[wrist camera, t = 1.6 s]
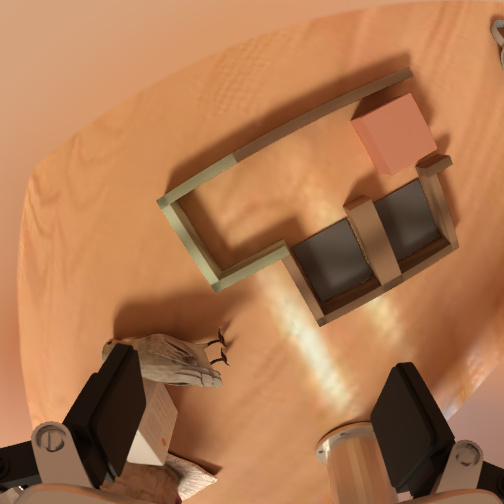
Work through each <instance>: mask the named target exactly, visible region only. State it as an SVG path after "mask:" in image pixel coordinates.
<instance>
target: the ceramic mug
mask: <svg viewBox="0 0 504 504" xmlns="http://www.w3.org/2000/svg"><path fill="white" fill-rule="evenodd" d="M497 28H504V20H496V21H494V22H493V24H492V27H491V33H492V35H493V37H494V39H495V40H496V41H497V42H498V44H499V45H500V46H501V47H502V48H503V49H502V51H501V63H502V66H503V69H504V38H503V36H502V35H501V34H500V33H499V31H498V29H497Z"/></svg>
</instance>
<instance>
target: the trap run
mask: <svg viewBox="0 0 504 504" xmlns="http://www.w3.org/2000/svg"><path fill="white" fill-rule="evenodd" d="M412 76H413V74H412V72H411V71H410V69H409V67H408V68H405V69H403V70H400V71H398V72H395V73H393V74H390V75H388V76H385V77H383V78H381V79H378V80H376V81H373V82H371V83H369V84H367V85H364V86H362V87H360V88H357V89H355V90H353V91H351V92H349V93H346V94H344V95H342V96H340V97H338V98H336V99H333V100H331V101H329V102H327V103H325V104H323V105H321V106H319V107H317V108H315V109H313V110H311V111H309V112H307V113H305V114H303V115H301V116H299V117H297V118H295V119H293V120H291V121H289V122H287V123H285V124H283V125H282V126H280V127H278V128H276V129H274V130H272V131H270V132H269V133H267V134H265V135H263V136H261V137H259V138H258V139H256V140H254V141H252V142H250V143H249V144H247V145H245V146H243V147H242V148H240V149H238V150H236V151H235V152H233V153H231V154H230V155H228V156H226V157H225V158H223V159H221V160H220V161H218V162H216V163H215V164H213V165H211V166H210V167H208V168H206V169H205V170H203V171H201V172H200V173H198V174H197V175H195V176H193V177H192V178H190V179H189V180H187V181H186V182H184V183H182V184H181V185H179V186H178V187H176V188H175V189H173V190H172V191H170V192H169V193H167V194H166V195H164V196H163V197H161V198H160V199H158V200H157V201H156V202H157V203H158V205H159V206H160V208H161V210H162V211H163V213H164V214H165V216H166V218H167V219H168V221H169V222H170V224H171V226H172V227H173V229H174V230H175V232H176V233H177V235H178V237H179V238H180V240H181V241H182V243H183V244H184V246H185V247H186V249H187V250H188V252H189V254H190V255H191V257H192V258H193V260H194V261H195V263H196V264H197V266H198V267H199V269H200V270H201V272H202V273H203V275H204V276H205V278H206V279H207V281H208V282H209V284H210V285H211V287H212V288H213V290H214V291H215V293H217V292H219V291H221V290H223V289H225V288H227V287H229V286H230V285H232V284H234V283H236V282H238V281H240V280H242V279H244V278H246V277H248V276H250V275H252V274H253V273H255V272H257V271H259V270H261V269H263V268H265V267H267V266H269V265H271V264H272V263H274V262H276V261H278V260H280V259H281V260H282V261H283V263H284V265H285V267H286V268H287V270H288V272H289V274H290V275H291V277H292V279H293V281H294V282H295V284H296V286H297V288H298V289H299V291H300V293H301V295H302V296H303V298H304V300H305V302H306V303H307V305H308V307H309V309H310V311H311V312H312V314H313V316H314V318H315V319H316V321H317V323H318V325H319V327H321V326H323V325H325V324H327V323H329V322H331V321H333V320H335V319H337V318H339V317H341V316H343V315H345V314H346V313H348V312H350V311H352V310H354V309H356V308H358V307H360V306H362V305H363V304H365V303H367V302H369V301H371V300H373V299H374V298H376V297H378V296H380V295H382V294H383V293H385V292H387V291H389V290H390V289H392V288H394V287H396V286H397V285H399V284H401V283H403V282H404V281H406V280H408V279H409V278H411V277H413V276H414V275H416V274H418V273H419V272H421V271H423V270H424V269H426V268H427V267H429V266H431V265H432V264H434V263H435V262H437V261H439V260H440V259H442V258H443V257H445V256H446V255H448V254H450V253H451V252H453V251H454V250H456V249H457V248H459V244H458V240H457V236H456V232H455V229H454V225H453V222H452V218H451V215H450V212H449V209H448V205H447V202H446V199H445V196H444V193H443V190H442V187H441V185H440V182H439V179H438V176H437V173H439V172H440V171H442V170H444V169H446V168H447V167H449V166H451V165H453V163H452V160H451V158H450V156H449V155H436V156H434V157H432V158H431V159H429V160H427V161H425V162H423V163H421V164H420V165H418V166H416V167H415V168H416V170H417V173H418V175H419V178H420V180H421V183H422V185H423V188H424V191H425V193H426V196H427V199H428V202H429V204H430V207H431V210H432V213H433V216H434V219H435V222H436V225H437V228H438V232H439V235H440V238H439V239H437V240H435V241H434V242H432V243H431V244H429V245H427V246H426V247H424V248H422V249H421V250H419V251H417V252H416V253H414V254H412V255H411V256H409V257H407V258H406V259H404V260H402V261H401V262H399V263H397V262H398V261H399V260H401V259H403V258H405V257H406V256H408V255H410V254H411V253H413V252H415V251H416V250H418V249H420V248H421V247H423V246H425V245H426V244H428V243H430V242H431V241H433V240H434V239H436V238H438V233H437V230H436V227H435V224H434V221H433V218H432V215H431V212H430V209H429V206H428V203H427V201H426V198H425V195H424V192H423V190H422V187H421V184H420V182H419V179H416V180H414V181H413V182H411V183H409V184H407V185H405V186H404V187H402V188H400V189H398V190H396V191H395V192H393V193H391V194H389V195H387V196H386V197H384V198H382V199H380V200H378V201H377V202H375V203H373V202H372V200H371V199H370V198H368V197H366V196H364V195H363V196H361V197H359V198H357V199H355V200H353V201H352V202H350V203H348V204H346V205H344V206H343V208H344V210H345V212H346V214H347V216H348V218H349V220H350V222H351V224H352V227H353V229H354V231H355V233H356V235H357V237H358V240H359V242H360V244H361V246H362V248H363V251H364V253H365V255H366V258H367V260H368V262H369V264H370V267H371V269H372V271H373V274H374V277H372V278H371V279H369V280H367V281H365V282H363V283H362V284H360V285H358V286H356V287H354V288H352V289H350V290H349V291H347V292H345V293H343V294H341V295H339V296H337V297H335V298H333V299H332V300H330V301H328V302H326V303H324V304H322V305H320V303H319V301H318V300H317V298H316V296H315V294H314V292H313V290H312V289H311V287H310V285H309V283H308V281H307V279H306V278H305V276H304V274H303V272H302V270H301V269H300V267H299V265H298V263H297V261H296V260H295V258H294V256H293V254H292V252H291V251H290V249H289V247H288V245H287V244H286V242H285V240H284V238H283V239H281V240H279V241H278V242H276V243H274V244H272V245H270V246H268V247H266V248H265V249H263V250H261V251H259V252H257V253H255V254H253V255H252V256H250V257H248V258H246V259H244V260H242V261H240V262H239V263H237V264H235V265H233V266H231V267H229V268H227V269H226V270H224V271H221V270H220V268H219V267H218V265H217V263H216V262H215V260H214V259H213V257H212V256H211V254H210V253H209V251H208V249H207V248H206V246H205V245H204V243H203V242H202V240H201V238H200V237H199V235H198V234H197V232H196V231H195V229H194V227H193V226H192V224H191V223H190V221H189V219H188V218H187V216H186V215H185V213H184V211H183V210H182V208H181V207H180V205H179V203H178V202H177V199H179V198H180V197H182V196H184V195H185V194H187V193H188V192H190V191H191V190H193V189H195V188H196V187H198V186H199V185H201V184H203V183H204V182H206V181H208V180H209V179H211V178H213V177H214V176H216V175H218V174H219V173H221V172H223V171H224V170H226V169H228V168H229V167H231V166H233V165H234V164H236V163H238V162H240V161H241V160H243V159H245V158H247V157H248V156H250V155H252V154H254V153H255V152H257V151H259V150H261V149H263V148H264V147H266V146H268V145H270V144H272V143H274V142H275V141H277V140H279V139H281V138H283V137H285V136H287V135H288V134H290V133H292V132H294V131H296V130H298V129H300V128H302V127H304V126H306V125H308V124H310V123H312V122H314V121H316V120H318V119H320V118H322V117H324V116H326V115H328V114H330V113H332V112H334V111H336V110H338V109H340V108H342V107H344V106H346V105H348V104H351V103H353V102H355V101H357V100H359V99H361V98H364V97H366V96H368V95H370V94H372V93H375V92H377V91H379V90H381V89H384V88H386V87H388V86H391V85H393V84H395V83H398V82H400V81H403V80H405V79H407V78H410V77H412ZM292 249H293V250H294V252H295V254H296V256H297V258H298V259H299V261H300V263H301V265H302V267H303V268H304V270H305V272H306V274H307V276H308V278H309V279H310V281H311V283H312V285H313V287H314V289H315V291H316V292H317V294H318V296H319V298H320V300H321V302H322V303H323V302H325V301H327V300H328V299H330V298H332V297H334V296H336V295H338V294H340V293H342V292H344V291H346V290H347V289H349V288H351V287H353V286H355V285H357V284H359V283H360V282H362V281H364V280H366V279H368V278H370V277H371V276H372V275H371V273H370V270H369V268H368V266H367V263H366V261H365V259H364V257H363V254H362V252H361V250H360V248H359V245H358V243H357V241H356V239H355V237H354V235H353V232H352V230H351V228H350V226H349V224H348V222H347V220H346V218H345V219H344V220H342V221H340V222H338V223H336V224H334V225H333V226H331V227H329V228H327V229H325V230H323V231H322V232H320V233H318V234H316V235H314V236H312V237H310V238H309V239H307V240H305V241H303V242H301V243H299V244H297V245H295V246H294V247H292Z"/></svg>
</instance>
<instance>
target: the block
mask: <svg viewBox="0 0 504 504" xmlns="http://www.w3.org/2000/svg"><path fill="white" fill-rule="evenodd" d="M350 122H351V123H352V125H353V127H354V128H355V130H356V132H357V134H358V136H359V137H360V139H361V141H362V143H363V145H364V146H365V148H366V150H367V152H368V154H369V156H370V158H371V160H372V162H373V164H374V165H375V167H376V169H377V171H378V172H379V173H384V174H388V175H394V174H395V173H397V172H399V171H401V170H402V169H404V168H406V167H407V166H409V165H411V164H412V163H414V162H416V161H418V160H419V159H421V158H423V157H424V156H426V155H428V154H429V153H431V152H433V151H434V150H436V149H438V148H437V146H436V143H435V141H434V139H433V137H432V135H431V132H430V130H429V128H428V126H427V124H426V122H425V120H424V118H423V116H422V114H421V112H420V110H419V108H418V106H417V104H416V102H415V100H414V98H413V97H412V95H411V93H408V94H405V95H402V96H399V97H396V98H394V99H392V100H390V101H388V102H386V103H384V104H382V105H380V106H378V107H376V108H374V109H372V110H370V111H368V112H366V113H364V114H363V115H361V116H359V117H357V118H355V119H353V120H351V121H350Z"/></svg>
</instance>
